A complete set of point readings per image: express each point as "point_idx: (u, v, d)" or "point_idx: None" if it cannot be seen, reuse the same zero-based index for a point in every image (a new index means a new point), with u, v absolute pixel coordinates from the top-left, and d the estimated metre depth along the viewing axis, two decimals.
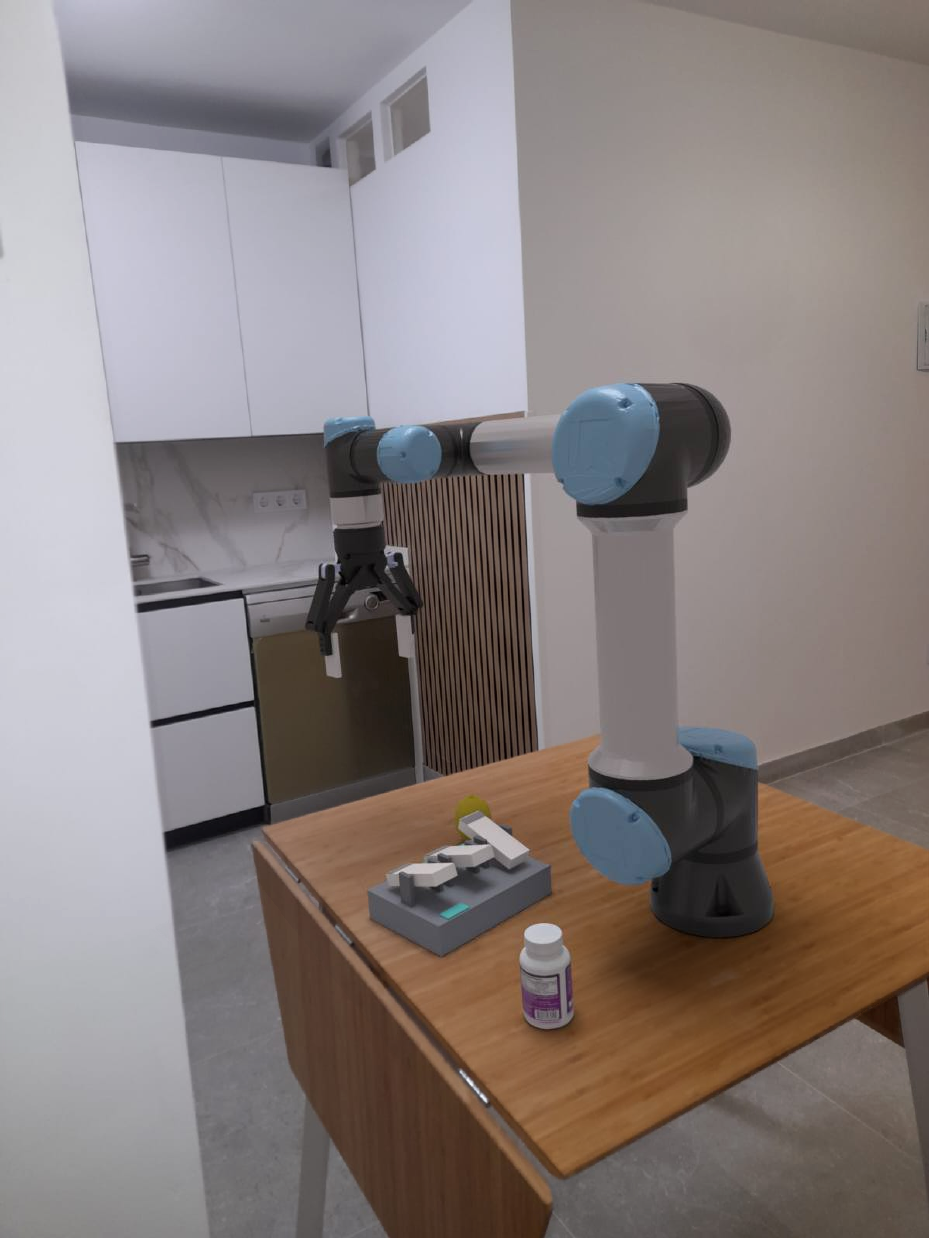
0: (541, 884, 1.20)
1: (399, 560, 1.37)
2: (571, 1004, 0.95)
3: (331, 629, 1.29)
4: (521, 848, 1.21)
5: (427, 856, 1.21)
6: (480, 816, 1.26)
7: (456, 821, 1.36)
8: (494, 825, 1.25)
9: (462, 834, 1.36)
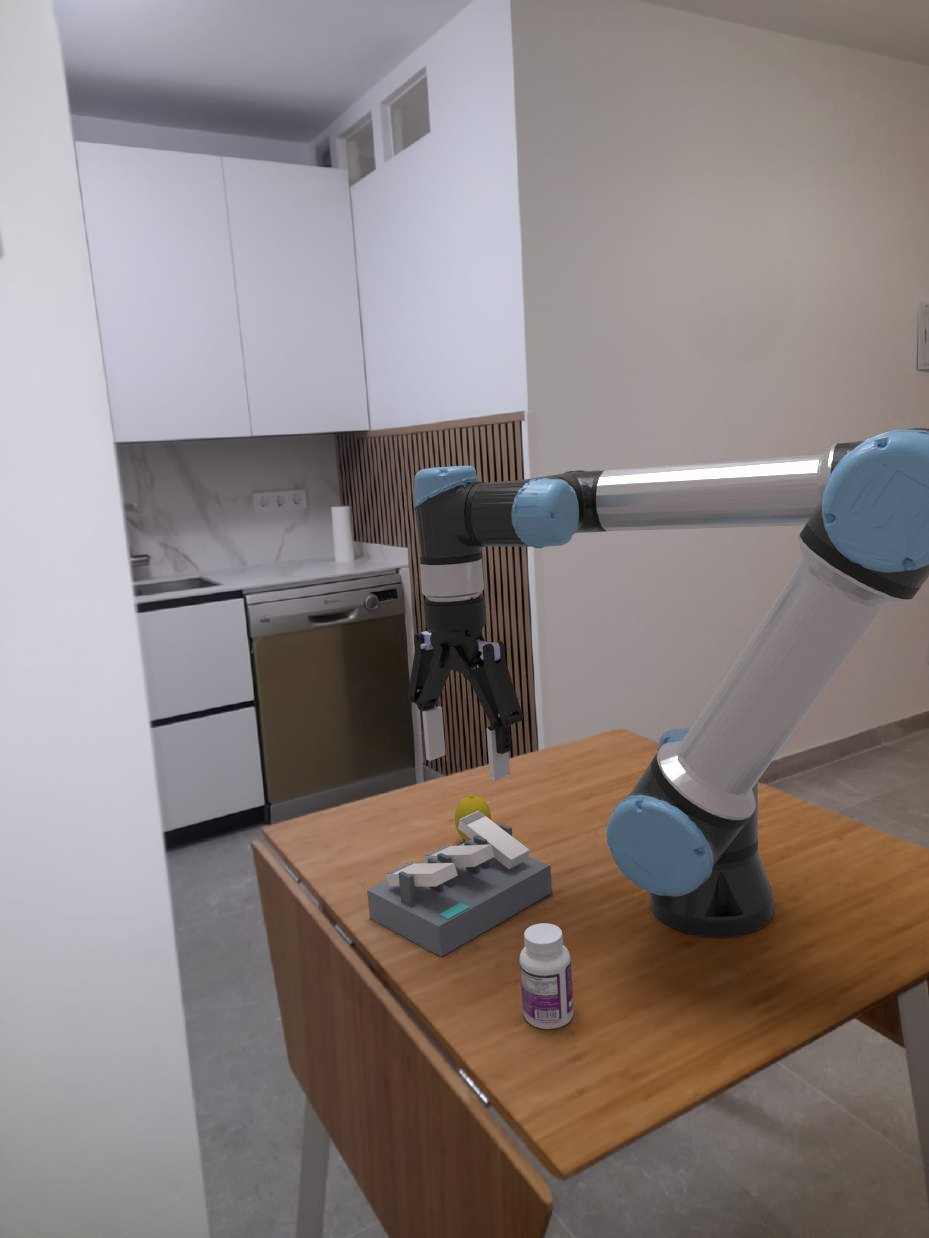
0: (541, 884, 1.20)
1: (485, 654, 1.06)
2: (571, 1004, 0.95)
3: (421, 705, 1.17)
4: (521, 848, 1.21)
5: (427, 856, 1.21)
6: (480, 816, 1.26)
7: (456, 821, 1.36)
8: (494, 825, 1.25)
9: (462, 834, 1.36)
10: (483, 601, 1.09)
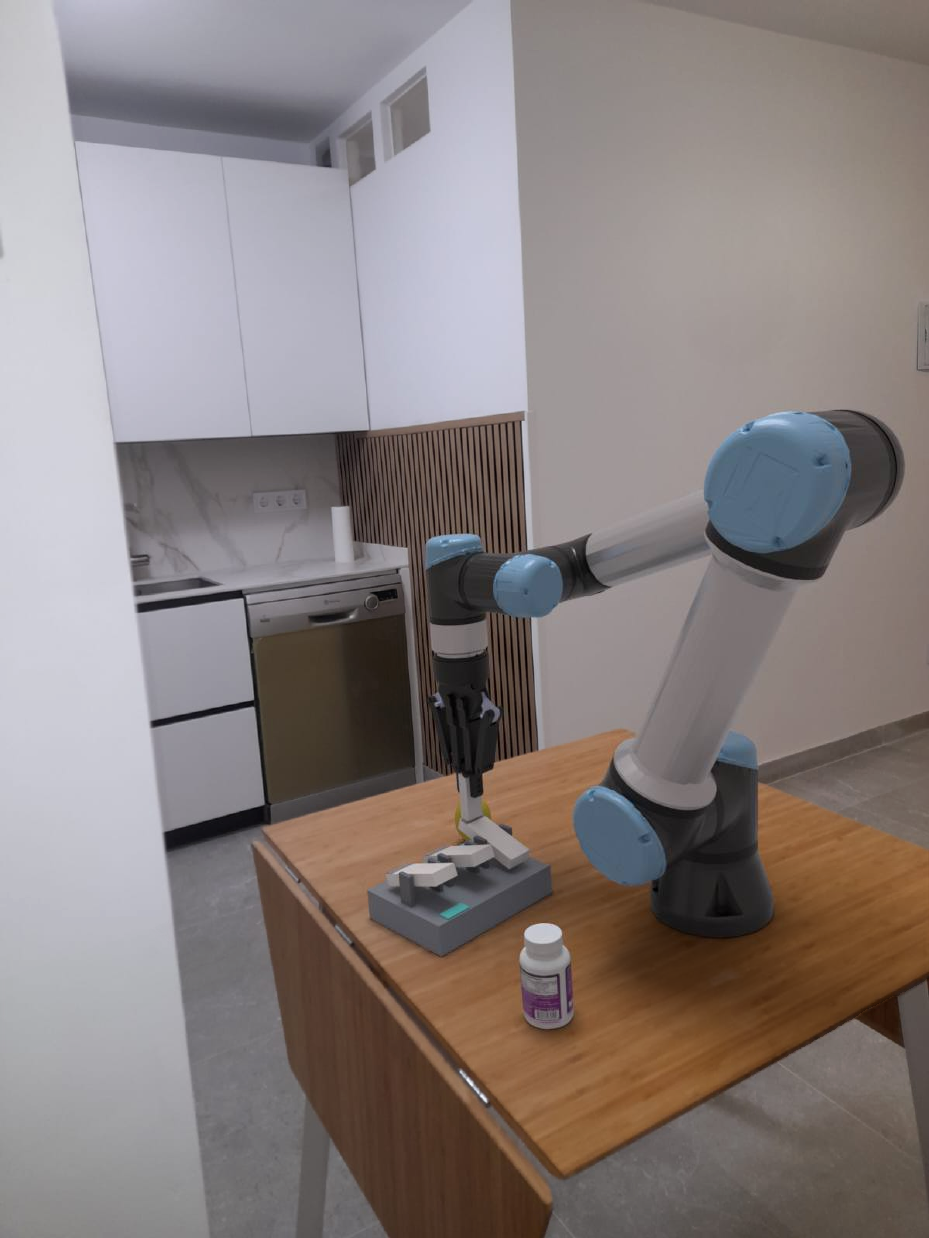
0: (541, 884, 1.20)
1: (485, 717, 1.18)
2: (571, 1004, 0.95)
3: (457, 766, 1.24)
4: (521, 848, 1.21)
5: (427, 856, 1.21)
6: (480, 816, 1.26)
7: (456, 821, 1.36)
8: (494, 825, 1.25)
9: (462, 834, 1.36)
10: (487, 657, 1.20)
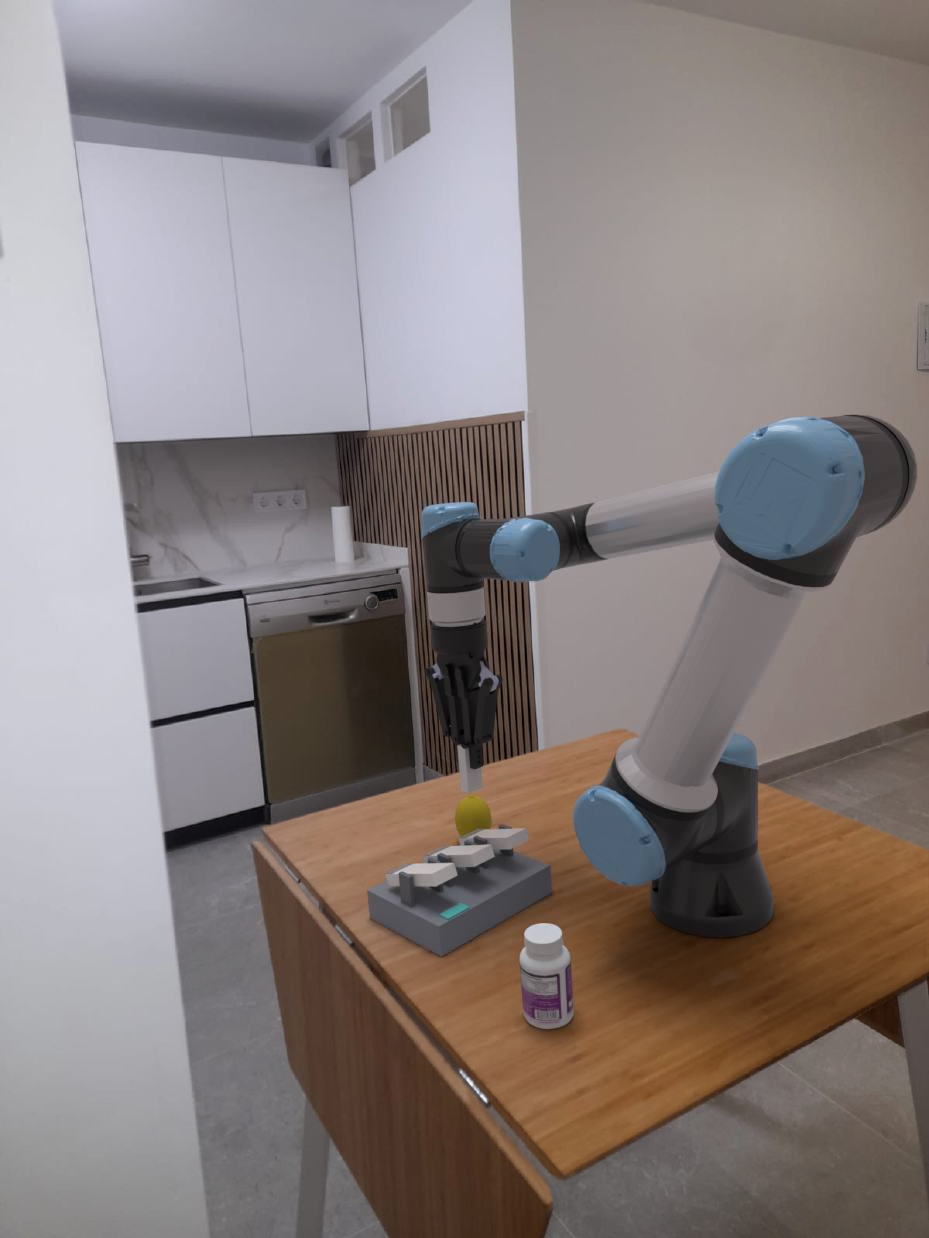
0: (541, 884, 1.20)
1: (484, 685, 1.17)
2: (571, 1004, 0.95)
3: (456, 738, 1.23)
4: (517, 830, 1.21)
5: (427, 856, 1.21)
6: (479, 830, 1.27)
7: (456, 821, 1.36)
8: (492, 830, 1.25)
9: (462, 834, 1.36)
10: (485, 626, 1.19)
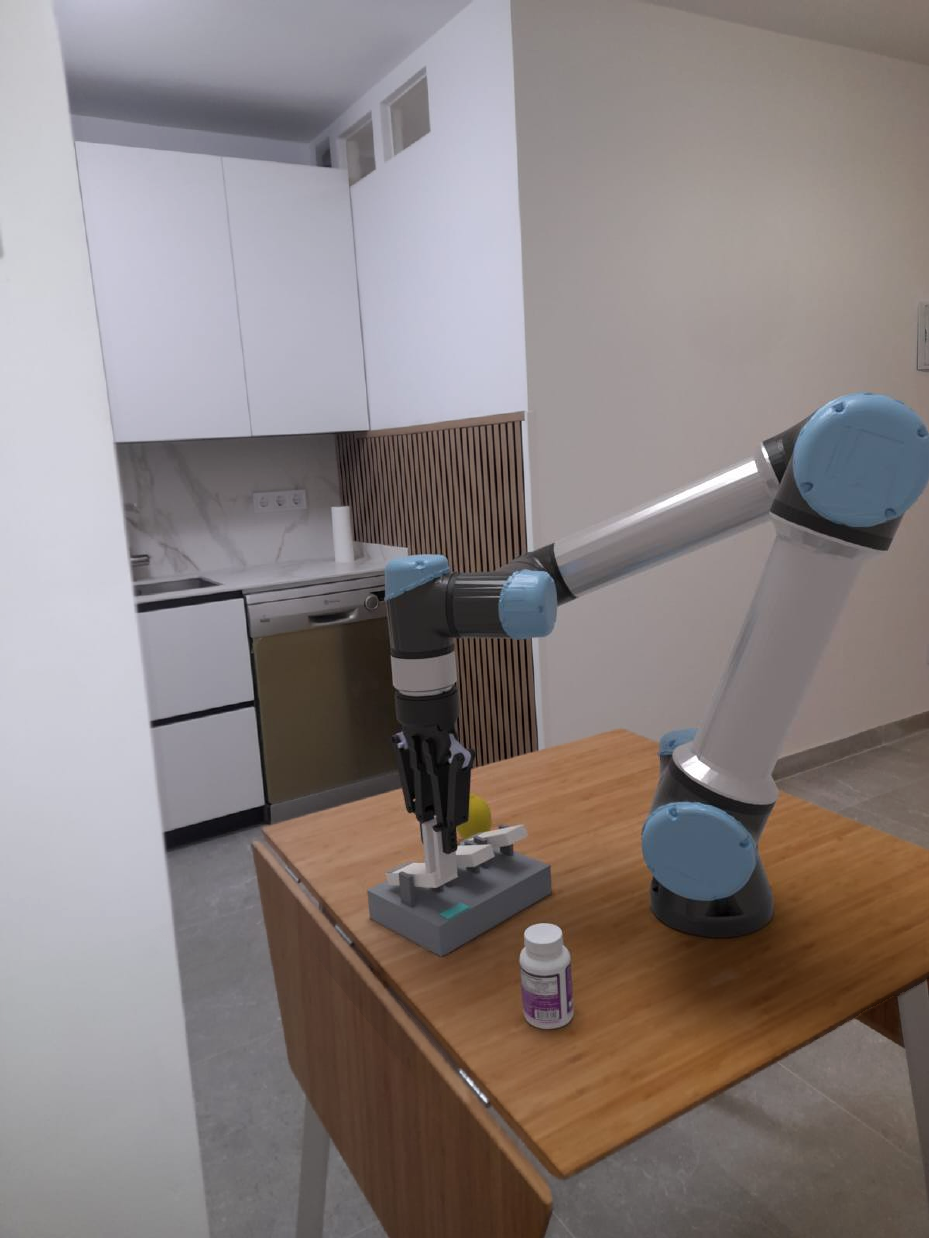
0: (541, 884, 1.20)
1: (454, 762, 1.04)
2: (571, 1004, 0.95)
3: (420, 815, 1.10)
4: (516, 826, 1.21)
5: None
6: (479, 833, 1.27)
7: None
8: (492, 831, 1.25)
9: (462, 834, 1.36)
10: (456, 694, 1.06)
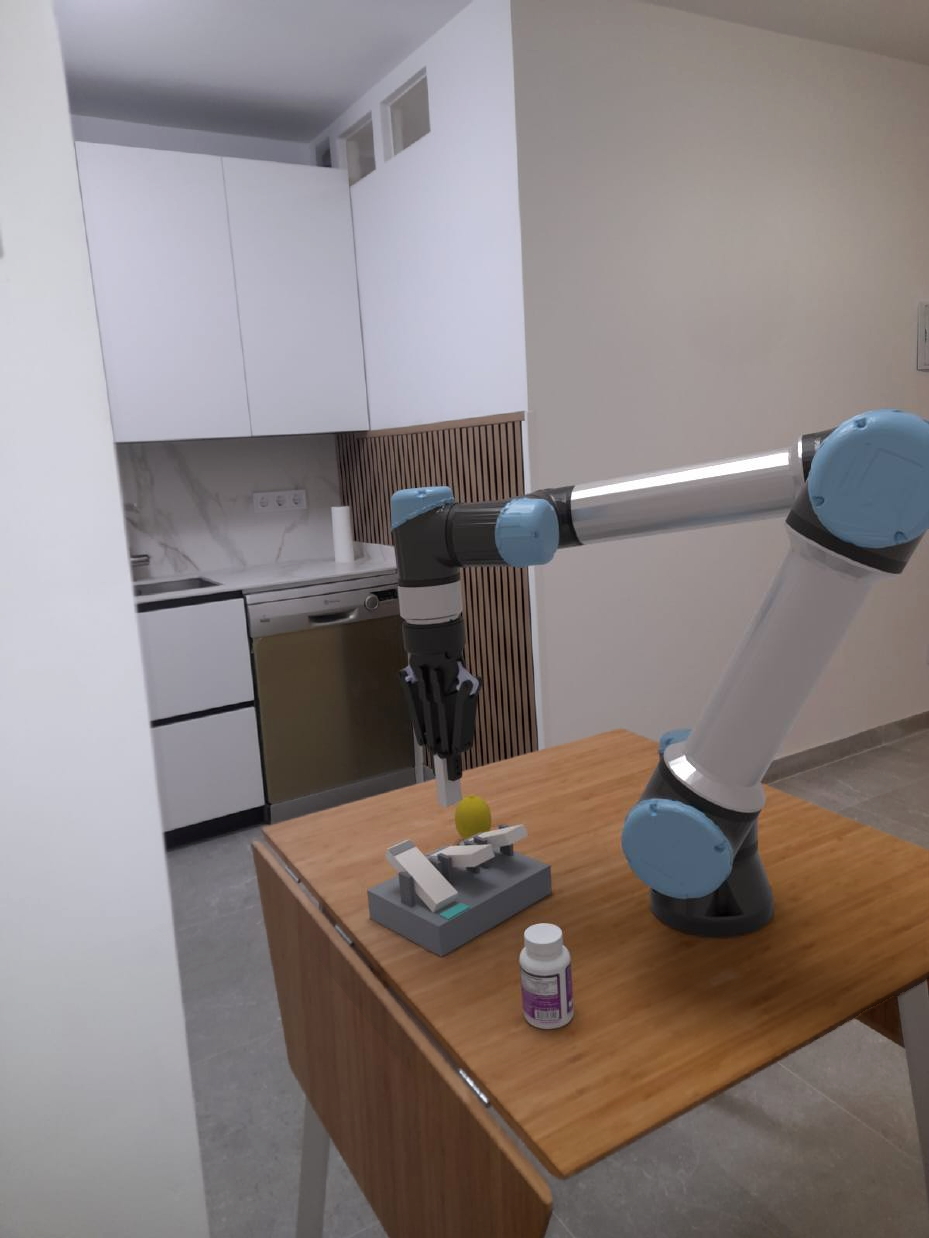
0: (541, 884, 1.20)
1: (462, 688, 1.06)
2: (571, 1004, 0.95)
3: (432, 747, 1.12)
4: (516, 826, 1.21)
5: (427, 856, 1.21)
6: (479, 833, 1.27)
7: (456, 821, 1.36)
8: (492, 831, 1.25)
9: (462, 834, 1.36)
10: (462, 622, 1.08)
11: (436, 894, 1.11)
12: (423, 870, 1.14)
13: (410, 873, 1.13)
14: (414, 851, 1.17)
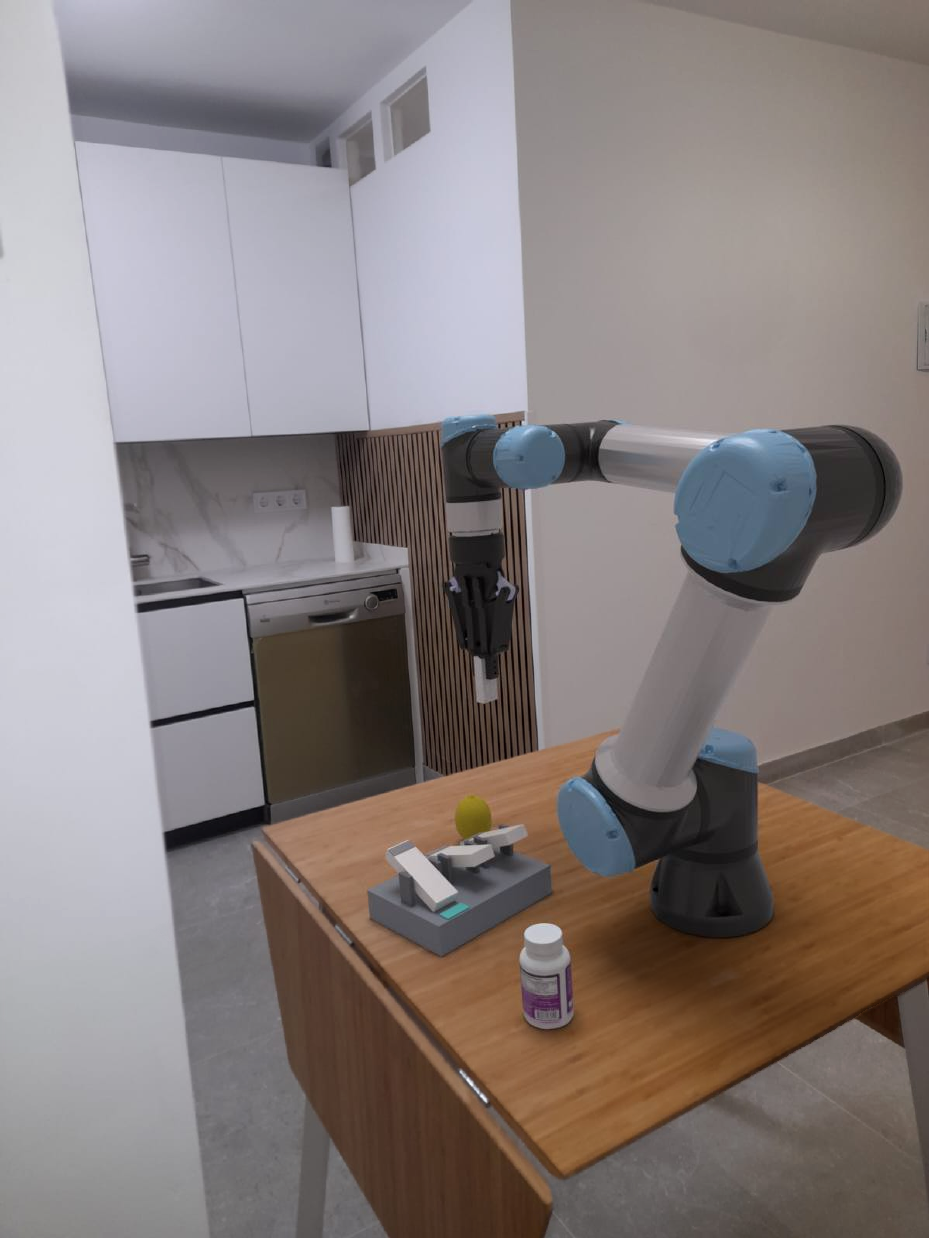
0: (541, 884, 1.20)
1: (501, 594, 1.19)
2: (571, 1004, 0.95)
3: (472, 649, 1.25)
4: (516, 826, 1.21)
5: (427, 856, 1.21)
6: (479, 833, 1.27)
7: (456, 821, 1.36)
8: (492, 831, 1.25)
9: (462, 834, 1.36)
10: (502, 537, 1.21)
11: (436, 893, 1.11)
12: (423, 870, 1.14)
13: (410, 873, 1.13)
14: (414, 851, 1.17)
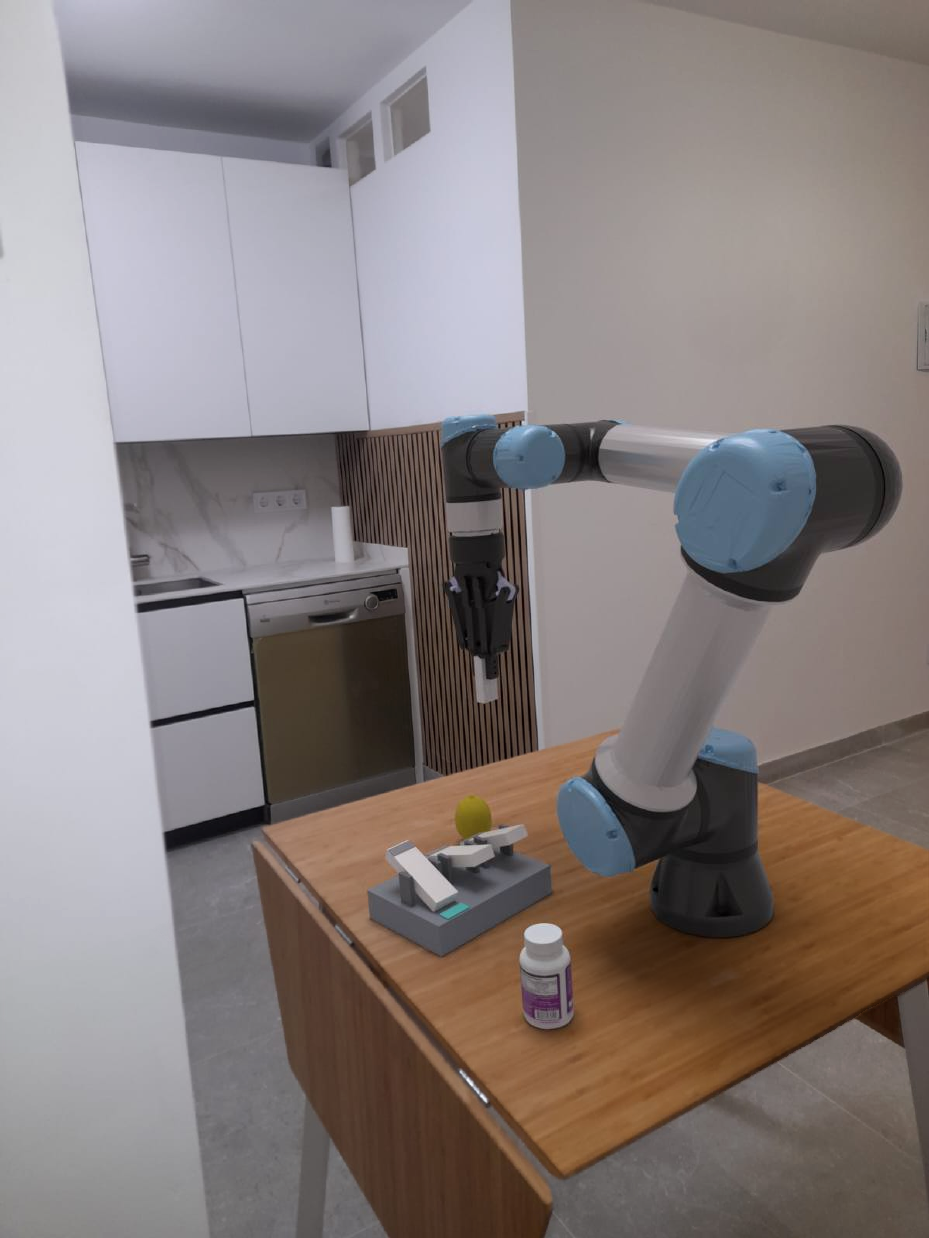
0: (541, 884, 1.20)
1: (501, 594, 1.19)
2: (571, 1004, 0.95)
3: (472, 649, 1.25)
4: (516, 826, 1.21)
5: (427, 856, 1.21)
6: (479, 833, 1.27)
7: (456, 821, 1.36)
8: (492, 831, 1.25)
9: (462, 834, 1.36)
10: (502, 537, 1.21)
11: (436, 893, 1.11)
12: (423, 870, 1.14)
13: (410, 873, 1.13)
14: (414, 851, 1.17)
